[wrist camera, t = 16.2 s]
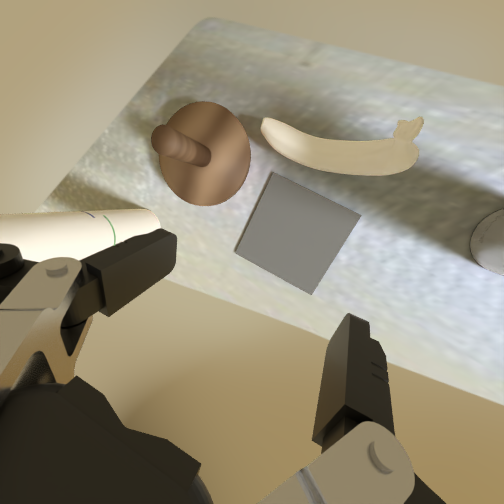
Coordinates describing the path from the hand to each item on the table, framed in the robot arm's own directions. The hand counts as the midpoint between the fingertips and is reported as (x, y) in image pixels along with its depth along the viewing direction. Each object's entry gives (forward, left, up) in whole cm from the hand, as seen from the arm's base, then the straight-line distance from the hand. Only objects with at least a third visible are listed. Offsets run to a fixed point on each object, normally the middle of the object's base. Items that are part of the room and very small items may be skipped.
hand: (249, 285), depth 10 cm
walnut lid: (+16, -3, -24) cm, 29 cm away
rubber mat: (-1, +2, -29) cm, 29 cm away
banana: (+1, -11, -29) cm, 31 cm away
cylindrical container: (+25, +14, -29) cm, 41 cm away
